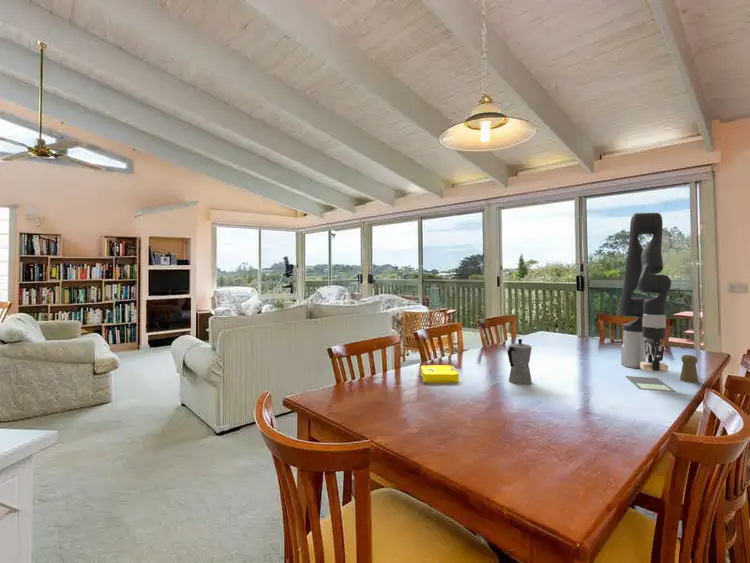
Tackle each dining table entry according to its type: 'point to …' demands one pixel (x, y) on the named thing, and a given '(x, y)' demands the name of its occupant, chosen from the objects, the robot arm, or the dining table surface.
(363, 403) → the dining table surface
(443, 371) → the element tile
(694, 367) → the cork
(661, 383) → the grey board
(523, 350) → the coffeepot
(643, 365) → the maple tile
